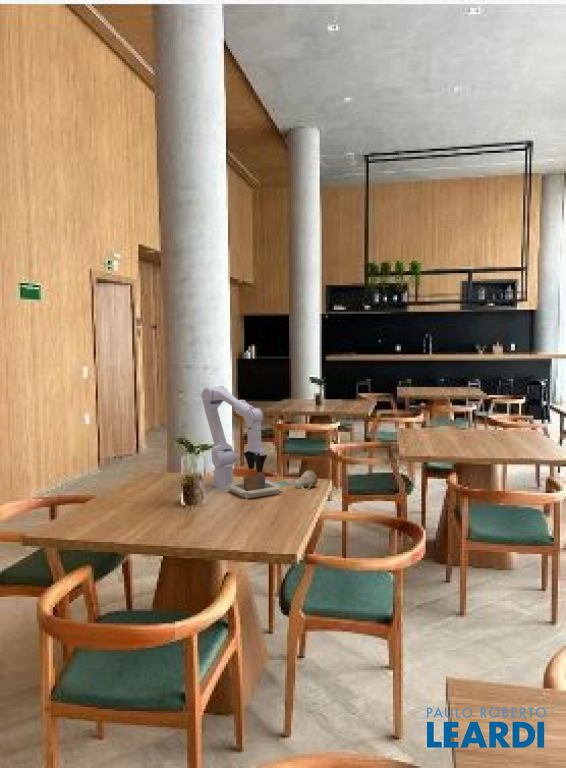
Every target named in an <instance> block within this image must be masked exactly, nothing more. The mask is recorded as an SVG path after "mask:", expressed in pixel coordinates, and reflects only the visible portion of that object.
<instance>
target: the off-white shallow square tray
mask: <svg viewBox="0 0 566 768" xmlns="http://www.w3.org/2000/svg"><path fill="white" fill-rule="evenodd" d="M226 487H229V488H228V489H230V492H232V493H234V494H236V495H238V496H240V497H242V498H244V499H247V500H248V499H252V498H258V497H259V498H260V497H263V496H264V497H265V496H271V495H277V494H280V490H282V488H284V486H281V485H279V484H276V482H274V481H271V480H268V479H265V489H258V490H252V491H245V490H244V480H242V481H237V482H233V483H229V485H227V486H226Z"/></svg>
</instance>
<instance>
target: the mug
mask: <svg viewBox="0 0 566 768" xmlns="http://www.w3.org/2000/svg"><path fill="white" fill-rule="evenodd" d="M318 482H319V481H318V477H317V475H316V473H315V472H314V471H313V470H310V469H309V470H306V471H304V472H303V473H302V475H301V476H300V477H299V478H298V479H296V480H295V481H294V487H295V488H296V489H301V490H307V491H309V490H310V489H311V488H312V487H314V486H316V485H317V484H318Z"/></svg>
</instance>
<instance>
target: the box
mask: <svg viewBox="0 0 566 768" xmlns="http://www.w3.org/2000/svg"><path fill="white" fill-rule="evenodd" d="M265 480H266V474H264V473H262V472H257V473H253V474H247V475H243V479H242V481H244V490H245V491H252V490H258V489H265Z"/></svg>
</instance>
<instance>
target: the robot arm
mask: <svg viewBox="0 0 566 768" xmlns="http://www.w3.org/2000/svg"><path fill="white" fill-rule="evenodd" d="M200 396H201V400H202V403H203V408H204V412H205V417H206V420H207V423H208V426H209V430H210V434H211V437H212V440H213V441H212V442H213V444H214V445H213V446H215V445H220V447H216V448H214V447H213V449H212V450H211V452H210V453H211V462H212V465H214V469H213V483H212V484H211V485H212V486H214V487H216V488H217V489H230V488H229V487H226V486H227V485H229V483H234V467H233V466H235V463H236V461H237V454H236V452H235V450H234V449H233V446H232V445H230V444H229V443H228V442H227V438H226V436H225V432H224V427H223V424H222V421H221V417H220V415H219V414H220V413H219V410H218V408H219V406H221V405H222V404H223V403H224V402H225V403H226V404H228V405H229V406H231V407H233V410H234V412H236V413H237V414H238V415H239V416H241V417H242V418H243V421H244V423H245V426H246V431H247V445H246V446H244V451H245V452H243V456H244V457H245V460H246V463H247V466H248V469H249V470H252V469H253V470H254V469H255V468H256V472H257V473H262V472H263V469H264V466H265V465H264V464H265V461H266V459H267V458H268V455H267V454H266V451H265V450H264V448H263V447H262V444H263V443H262V421H263V420H264V411H263V410H262V409H261V408H260V407H256V408H255V407H254V406H253V405H251V404H249V403H248V402H247V401H246V400H245V399H240V400H239V399H237V398H236V397H235V395H233V394H232V393H230V392H229V390H228V389H227V388H226V387H224V386H223V385H219V386H210V387H204V388H203V390H202V392H201V394H200Z"/></svg>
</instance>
